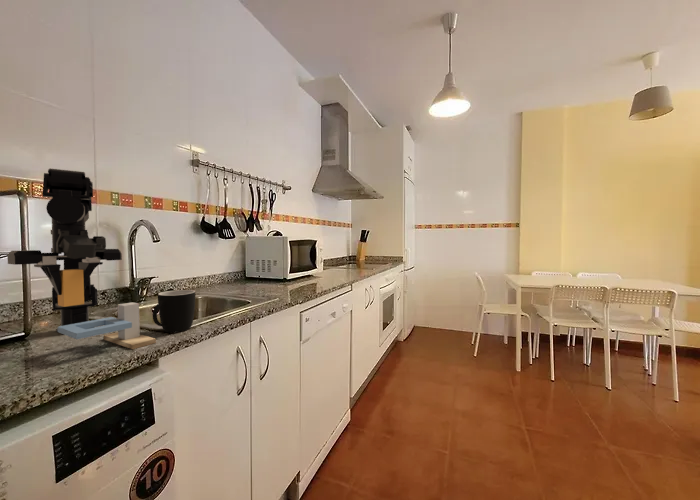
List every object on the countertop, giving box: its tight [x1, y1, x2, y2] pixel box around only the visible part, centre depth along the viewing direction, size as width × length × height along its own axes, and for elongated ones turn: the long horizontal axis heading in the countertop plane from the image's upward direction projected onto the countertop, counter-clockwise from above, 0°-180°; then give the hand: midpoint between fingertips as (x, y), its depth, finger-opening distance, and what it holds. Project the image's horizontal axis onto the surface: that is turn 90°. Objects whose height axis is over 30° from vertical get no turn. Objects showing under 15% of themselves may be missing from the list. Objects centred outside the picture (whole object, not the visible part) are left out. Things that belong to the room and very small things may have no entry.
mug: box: [152, 289, 196, 333], centre depth 84 cm, size 12×9×10 cm
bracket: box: [57, 302, 141, 340], centre depth 71 cm, size 10×13×8 cm
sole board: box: [103, 331, 157, 350], centre depth 76 cm, size 14×5×1 cm, turn 59°
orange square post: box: [57, 269, 85, 307], centre depth 72 cm, size 4×4×8 cm
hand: (70, 293), depth 72 cm, fingers closed on orange square post, 4 cm apart
